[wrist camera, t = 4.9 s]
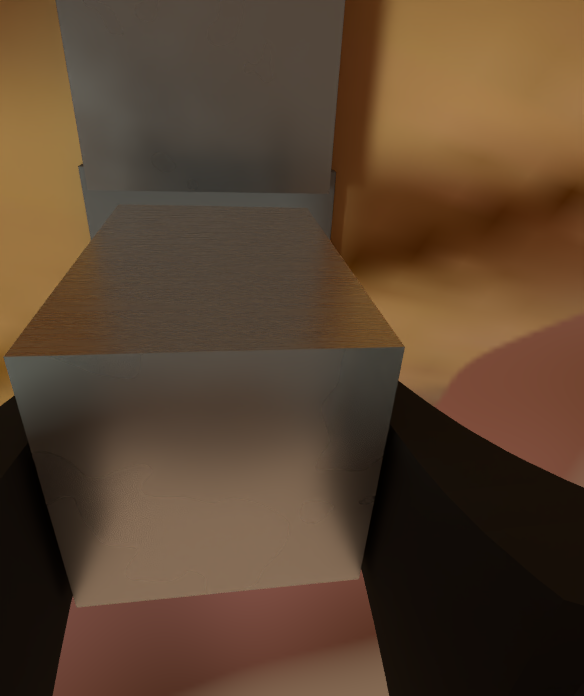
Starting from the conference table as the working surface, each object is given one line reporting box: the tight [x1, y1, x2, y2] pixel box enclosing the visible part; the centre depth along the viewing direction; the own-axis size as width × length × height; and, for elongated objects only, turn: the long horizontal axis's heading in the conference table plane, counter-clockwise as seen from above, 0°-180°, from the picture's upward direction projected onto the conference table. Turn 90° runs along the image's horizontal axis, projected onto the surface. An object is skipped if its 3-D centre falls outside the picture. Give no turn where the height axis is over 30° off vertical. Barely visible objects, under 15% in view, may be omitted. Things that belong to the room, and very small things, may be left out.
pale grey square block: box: [4, 204, 405, 607], centre depth 9 cm, size 4×4×7 cm
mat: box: [78, 164, 336, 240], centre depth 19 cm, size 9×9×1 cm
